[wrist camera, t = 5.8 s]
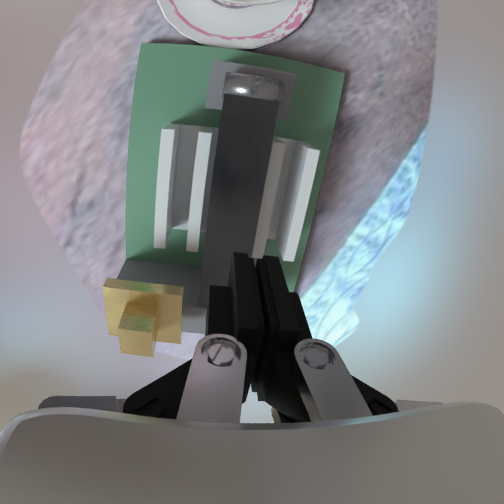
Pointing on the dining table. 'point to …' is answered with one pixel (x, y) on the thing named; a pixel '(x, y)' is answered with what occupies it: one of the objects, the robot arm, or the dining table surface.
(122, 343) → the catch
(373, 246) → the dining table surface
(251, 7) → the teacup
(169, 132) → the board
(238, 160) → the strap
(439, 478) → the robot arm
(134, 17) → the dining table surface
